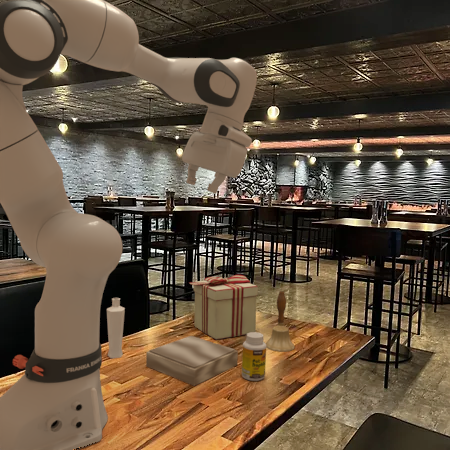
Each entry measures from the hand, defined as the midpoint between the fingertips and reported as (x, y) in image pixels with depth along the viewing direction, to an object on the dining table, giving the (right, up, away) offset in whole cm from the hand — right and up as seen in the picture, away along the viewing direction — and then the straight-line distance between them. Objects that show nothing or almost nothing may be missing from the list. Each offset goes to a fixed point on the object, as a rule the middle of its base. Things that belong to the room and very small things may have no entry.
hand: (200, 188), depth 102 cm
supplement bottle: (+13, -45, +1) cm, 46 cm away
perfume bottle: (-23, -43, +11) cm, 50 cm away
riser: (-2, -44, +7) cm, 44 cm away
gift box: (+4, -42, +36) cm, 55 cm away
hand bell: (+21, -43, +22) cm, 53 cm away
